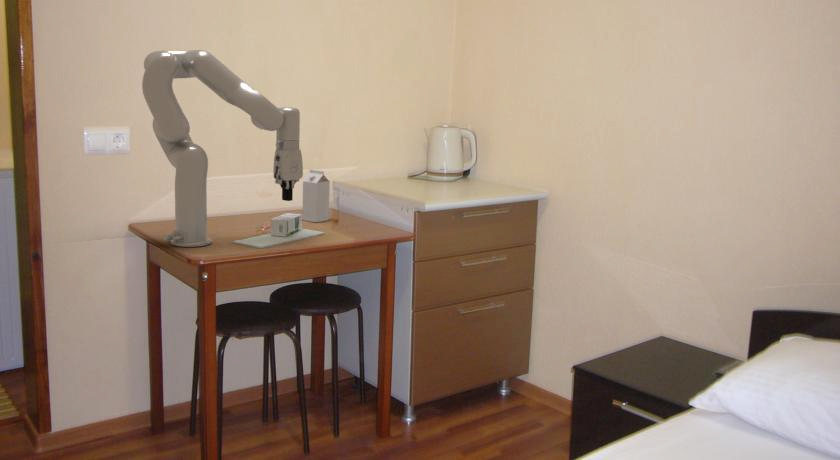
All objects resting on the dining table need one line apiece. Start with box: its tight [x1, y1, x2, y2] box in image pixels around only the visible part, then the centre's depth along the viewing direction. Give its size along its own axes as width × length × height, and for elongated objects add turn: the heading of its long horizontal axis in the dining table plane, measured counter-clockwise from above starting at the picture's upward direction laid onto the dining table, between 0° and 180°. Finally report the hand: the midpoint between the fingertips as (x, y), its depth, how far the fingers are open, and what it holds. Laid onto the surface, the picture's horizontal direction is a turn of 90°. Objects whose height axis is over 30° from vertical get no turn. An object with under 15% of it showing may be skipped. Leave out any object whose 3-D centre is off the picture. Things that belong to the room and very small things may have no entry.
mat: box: [232, 227, 326, 249], centre depth 258 cm, size 32×12×1 cm, turn 148°
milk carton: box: [302, 169, 331, 223], centre depth 292 cm, size 7×7×19 cm
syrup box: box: [269, 212, 303, 237], centre depth 265 cm, size 6×6×14 cm
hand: (287, 200), depth 258 cm, fingers closed
